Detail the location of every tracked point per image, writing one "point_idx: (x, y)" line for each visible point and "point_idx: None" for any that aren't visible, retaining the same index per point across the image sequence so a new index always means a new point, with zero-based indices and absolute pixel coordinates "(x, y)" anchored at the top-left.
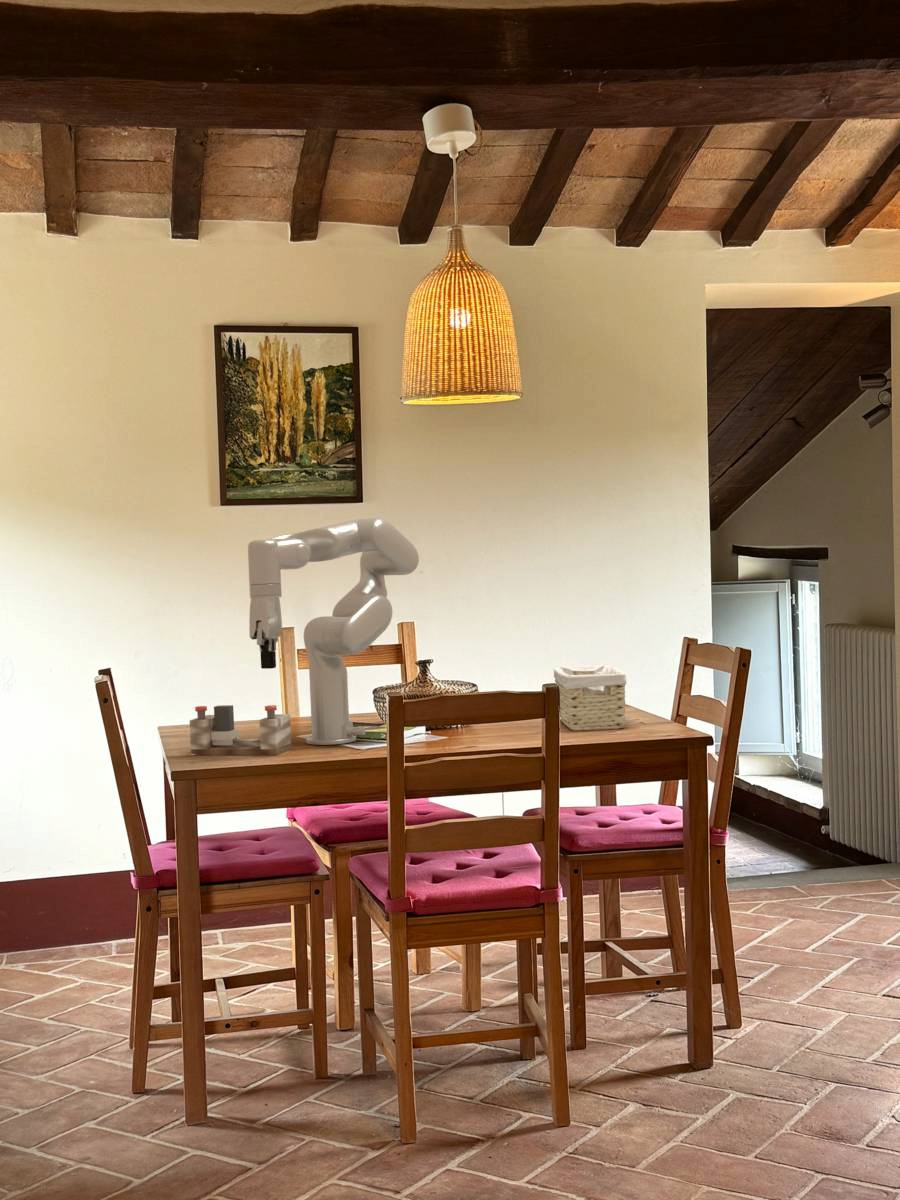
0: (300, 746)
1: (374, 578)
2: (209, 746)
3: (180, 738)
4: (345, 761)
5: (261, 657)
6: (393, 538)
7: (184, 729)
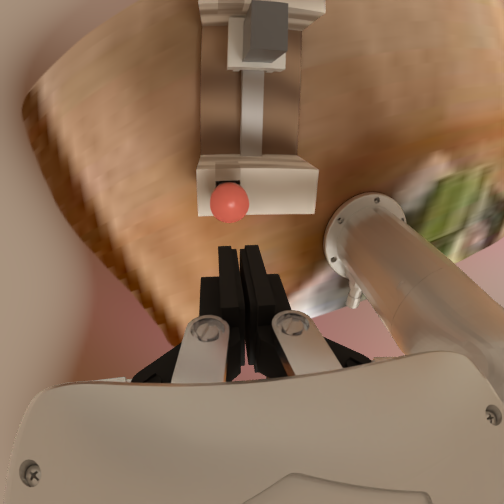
0: (322, 194)
1: None
2: (222, 24)
3: None
4: (156, 323)
5: (220, 286)
6: None
7: None
